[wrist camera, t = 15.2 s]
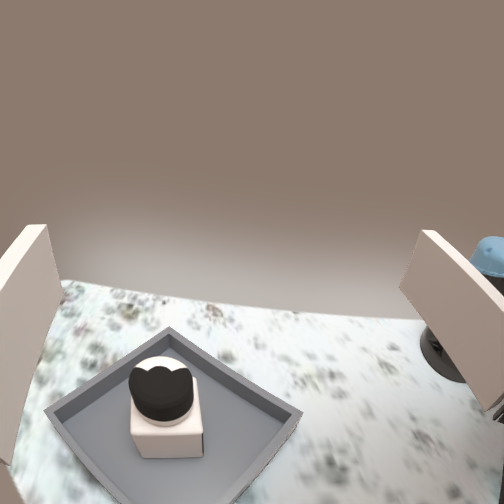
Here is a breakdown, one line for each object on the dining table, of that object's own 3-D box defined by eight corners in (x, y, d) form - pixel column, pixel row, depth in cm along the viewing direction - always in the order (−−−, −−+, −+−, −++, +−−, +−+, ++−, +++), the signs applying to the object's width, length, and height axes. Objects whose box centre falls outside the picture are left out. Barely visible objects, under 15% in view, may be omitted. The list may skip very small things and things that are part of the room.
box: (296, 427, 36) (303, 412, 34) (181, 553, 19) (178, 552, 17) (170, 344, 45) (169, 326, 43) (54, 426, 29) (43, 410, 27)
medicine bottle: (204, 457, 30) (203, 408, 24) (142, 459, 28) (118, 409, 22) (197, 407, 36) (195, 346, 30) (141, 408, 34) (123, 347, 28)
